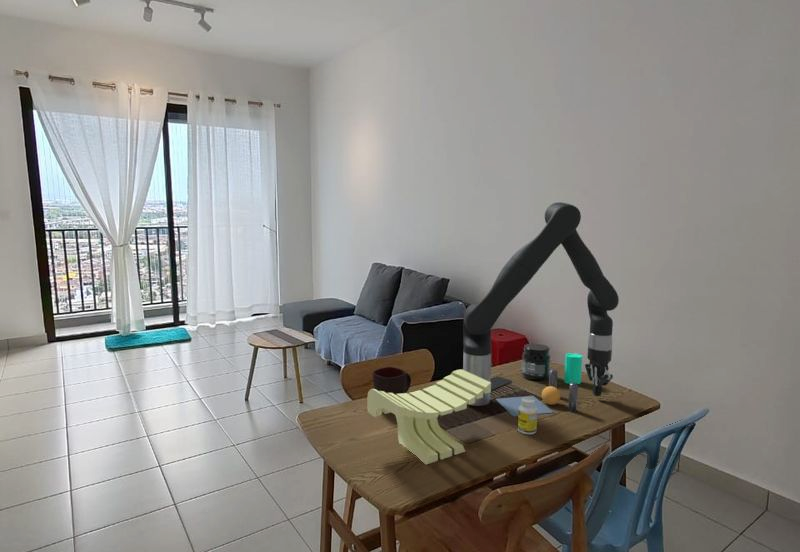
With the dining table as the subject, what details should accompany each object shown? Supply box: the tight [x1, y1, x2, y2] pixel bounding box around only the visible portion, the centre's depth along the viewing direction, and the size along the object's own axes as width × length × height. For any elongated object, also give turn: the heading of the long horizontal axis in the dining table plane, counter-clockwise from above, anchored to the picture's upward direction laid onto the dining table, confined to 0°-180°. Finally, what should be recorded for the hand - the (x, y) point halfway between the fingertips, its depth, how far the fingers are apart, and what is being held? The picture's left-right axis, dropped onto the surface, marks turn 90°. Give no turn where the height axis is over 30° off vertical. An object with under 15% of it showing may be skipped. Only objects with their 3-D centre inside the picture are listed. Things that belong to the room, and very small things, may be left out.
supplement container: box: [521, 343, 552, 382], centre depth 190 cm, size 10×10×12 cm
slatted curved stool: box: [366, 368, 492, 465], centre depth 135 cm, size 30×16×18 cm, turn 122°
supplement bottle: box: [517, 396, 538, 435], centre depth 144 cm, size 5×5×10 cm
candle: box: [563, 352, 583, 385], centre depth 184 cm, size 6×6×12 cm
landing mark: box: [495, 395, 554, 417], centre depth 163 cm, size 14×14×1 cm
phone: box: [490, 376, 513, 392], centre depth 183 cm, size 7×1×15 cm
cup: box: [372, 366, 412, 395], centre depth 162 cm, size 10×14×12 cm
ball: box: [541, 385, 561, 406], centre depth 164 cm, size 6×6×6 cm
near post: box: [567, 382, 579, 413], centre depth 159 cm, size 3×3×9 cm
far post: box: [548, 368, 558, 389], centre depth 172 cm, size 3×3×9 cm
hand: (596, 395), depth 168 cm, fingers closed
